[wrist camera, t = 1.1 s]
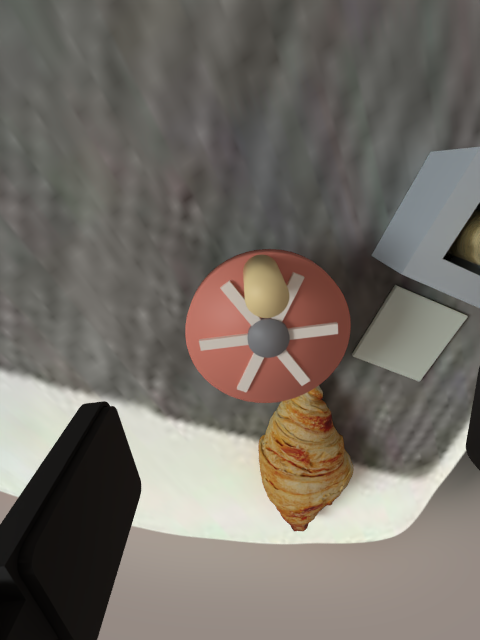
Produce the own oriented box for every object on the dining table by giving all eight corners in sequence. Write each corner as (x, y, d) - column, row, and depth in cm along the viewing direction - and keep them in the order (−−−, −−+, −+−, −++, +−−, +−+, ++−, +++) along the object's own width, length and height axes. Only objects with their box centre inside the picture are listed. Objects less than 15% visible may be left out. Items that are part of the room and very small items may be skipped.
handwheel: (221, 221, 23) (216, 239, 17) (374, 286, 25) (418, 322, 19) (168, 363, 27) (148, 418, 21) (301, 409, 29) (317, 470, 23)
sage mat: (395, 284, 31) (396, 286, 31) (465, 314, 32) (467, 316, 32) (351, 354, 34) (353, 356, 34) (417, 379, 35) (419, 381, 35)
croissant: (274, 354, 38) (242, 391, 32) (367, 374, 34) (353, 421, 27) (273, 490, 46) (247, 542, 40) (348, 520, 42) (333, 584, 35)
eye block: (430, 152, 27) (480, 146, 21) (519, 197, 28) (588, 203, 23) (371, 255, 30) (401, 274, 24) (453, 291, 31) (499, 317, 26)
